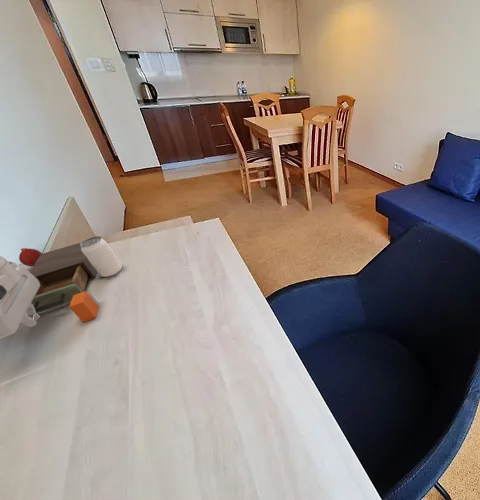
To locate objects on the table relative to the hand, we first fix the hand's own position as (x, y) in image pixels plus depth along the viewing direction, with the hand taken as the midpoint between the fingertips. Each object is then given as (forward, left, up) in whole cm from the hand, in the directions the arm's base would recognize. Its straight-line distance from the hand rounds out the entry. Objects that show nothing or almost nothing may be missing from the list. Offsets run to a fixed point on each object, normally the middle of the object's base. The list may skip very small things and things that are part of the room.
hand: (34, 322), depth 76 cm
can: (+12, +23, -5) cm, 27 cm away
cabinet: (0, +30, -5) cm, 31 cm away
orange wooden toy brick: (+9, +4, -5) cm, 11 cm away
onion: (-13, +44, -5) cm, 46 cm away
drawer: (0, +16, -4) cm, 17 cm away
